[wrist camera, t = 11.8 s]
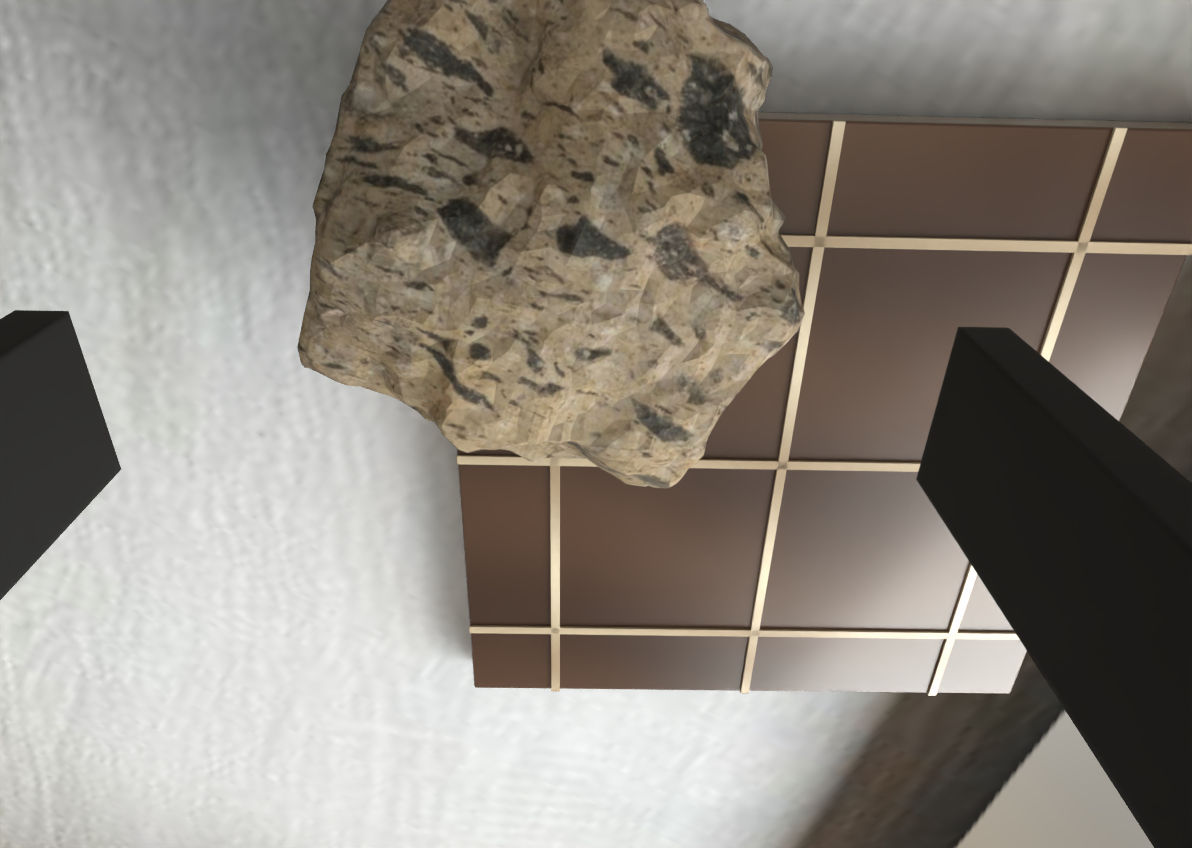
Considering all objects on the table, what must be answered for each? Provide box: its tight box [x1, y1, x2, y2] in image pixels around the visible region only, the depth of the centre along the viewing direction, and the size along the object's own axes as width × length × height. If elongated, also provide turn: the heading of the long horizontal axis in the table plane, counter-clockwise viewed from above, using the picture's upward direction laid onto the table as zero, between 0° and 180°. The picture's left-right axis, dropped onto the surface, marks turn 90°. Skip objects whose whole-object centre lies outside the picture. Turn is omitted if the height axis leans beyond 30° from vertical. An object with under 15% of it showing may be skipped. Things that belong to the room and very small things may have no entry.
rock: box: [298, 0, 805, 488], centre depth 19 cm, size 11×12×4 cm
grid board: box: [456, 112, 1192, 696], centre depth 25 cm, size 20×20×1 cm
